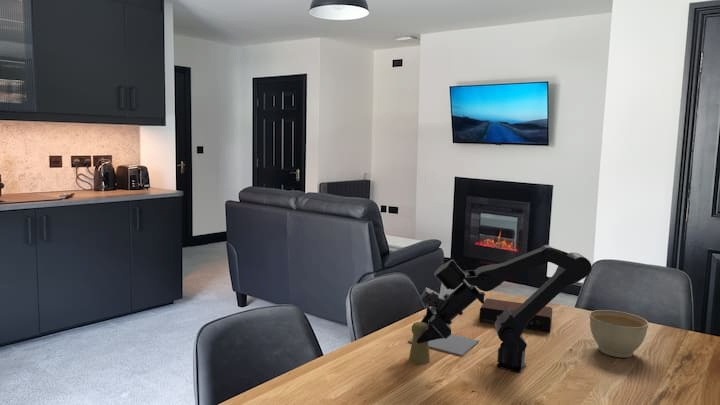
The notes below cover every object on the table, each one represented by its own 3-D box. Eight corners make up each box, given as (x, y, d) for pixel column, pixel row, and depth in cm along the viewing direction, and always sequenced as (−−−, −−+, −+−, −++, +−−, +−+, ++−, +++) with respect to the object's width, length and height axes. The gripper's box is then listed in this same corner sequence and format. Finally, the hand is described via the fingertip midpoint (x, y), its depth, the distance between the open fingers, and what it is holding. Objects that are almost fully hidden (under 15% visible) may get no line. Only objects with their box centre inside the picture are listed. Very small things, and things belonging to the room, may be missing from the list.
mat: (479, 342, 166) (479, 340, 166) (462, 356, 155) (462, 354, 155) (427, 329, 176) (427, 328, 176) (407, 342, 164) (407, 340, 164)
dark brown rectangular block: (479, 323, 185) (479, 306, 185) (484, 313, 196) (485, 298, 195) (550, 334, 177) (551, 317, 176) (551, 323, 187) (552, 307, 187)
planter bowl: (653, 365, 152) (656, 329, 151) (593, 359, 155) (596, 324, 154) (635, 345, 168) (638, 312, 167) (582, 340, 171) (584, 307, 170)
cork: (431, 365, 148) (432, 327, 147) (409, 364, 148) (411, 326, 147) (428, 356, 154) (430, 320, 153) (408, 355, 154) (409, 319, 153)
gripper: (436, 272, 157) (398, 305, 159) (441, 289, 139) (397, 326, 141) (461, 299, 158) (423, 332, 160) (469, 320, 139) (425, 357, 141)
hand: (416, 336), depth 150 cm, fingers open, 9 cm apart
